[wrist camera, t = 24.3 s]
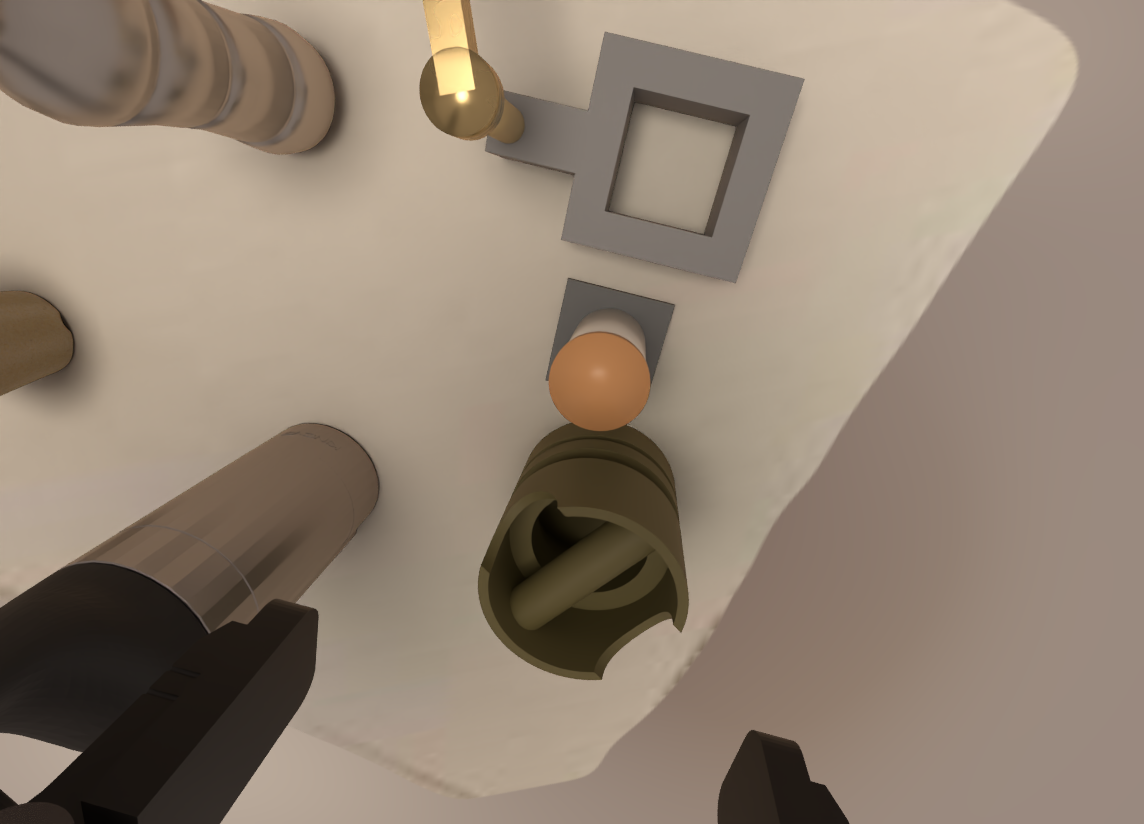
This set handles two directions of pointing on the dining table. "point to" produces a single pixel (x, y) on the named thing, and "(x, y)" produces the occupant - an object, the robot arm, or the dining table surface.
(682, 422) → the dining table surface
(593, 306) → the mat
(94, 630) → the robot arm
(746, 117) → the socket block
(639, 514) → the piston
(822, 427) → the dining table surface
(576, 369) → the plug
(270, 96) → the plastic bottle
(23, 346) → the flower pot
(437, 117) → the lever
